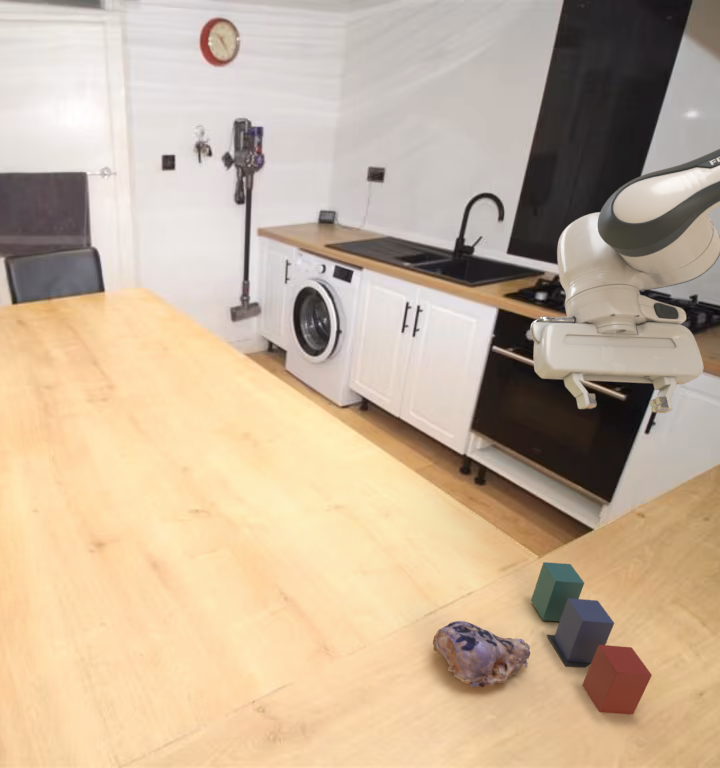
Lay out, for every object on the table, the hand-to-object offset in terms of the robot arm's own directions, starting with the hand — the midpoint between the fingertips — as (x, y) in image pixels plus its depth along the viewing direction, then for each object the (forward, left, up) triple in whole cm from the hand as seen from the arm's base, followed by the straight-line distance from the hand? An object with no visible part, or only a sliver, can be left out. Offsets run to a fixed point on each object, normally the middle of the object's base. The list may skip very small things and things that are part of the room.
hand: (625, 409), depth 72 cm
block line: (+7, +16, -27) cm, 32 cm away
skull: (+20, +19, -27) cm, 39 cm away
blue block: (+7, +16, -27) cm, 32 cm away
